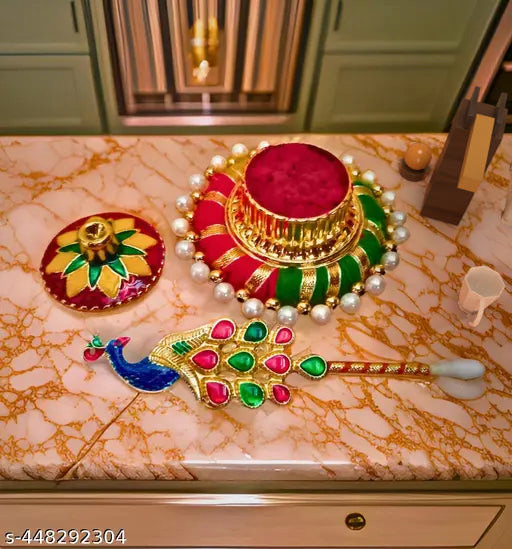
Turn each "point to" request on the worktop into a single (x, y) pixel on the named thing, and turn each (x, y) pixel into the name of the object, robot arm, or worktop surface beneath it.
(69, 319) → the worktop surface
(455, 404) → the worktop surface
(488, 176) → the worktop surface
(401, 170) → the night lamp
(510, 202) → the robot arm
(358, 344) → the worktop surface
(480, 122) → the pull rod
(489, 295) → the cup
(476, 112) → the switch pillar
